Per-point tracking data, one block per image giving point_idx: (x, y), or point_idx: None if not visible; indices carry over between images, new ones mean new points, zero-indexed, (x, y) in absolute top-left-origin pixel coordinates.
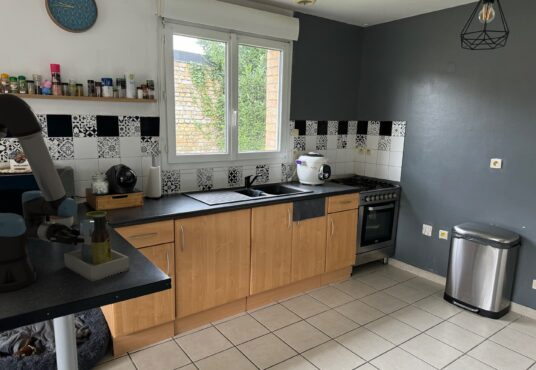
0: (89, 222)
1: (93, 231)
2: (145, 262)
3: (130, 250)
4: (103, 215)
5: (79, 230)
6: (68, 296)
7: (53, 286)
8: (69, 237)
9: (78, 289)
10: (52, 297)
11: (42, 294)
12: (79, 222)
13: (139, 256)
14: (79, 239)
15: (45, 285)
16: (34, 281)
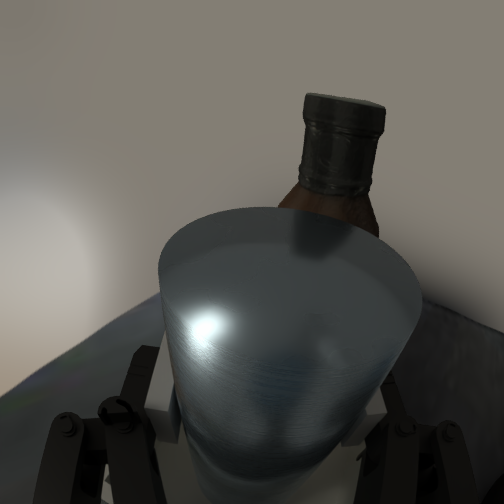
0: (321, 227)
1: (372, 211)
2: (155, 301)
3: (17, 399)
4: (323, 94)
5: (365, 407)
6: (448, 331)
7: (461, 411)
8: (453, 428)
9: (419, 341)
10: (475, 354)
11: (490, 386)
12: (412, 311)
13: (92, 341)
14: (391, 375)
15: (475, 437)
16: (490, 490)
